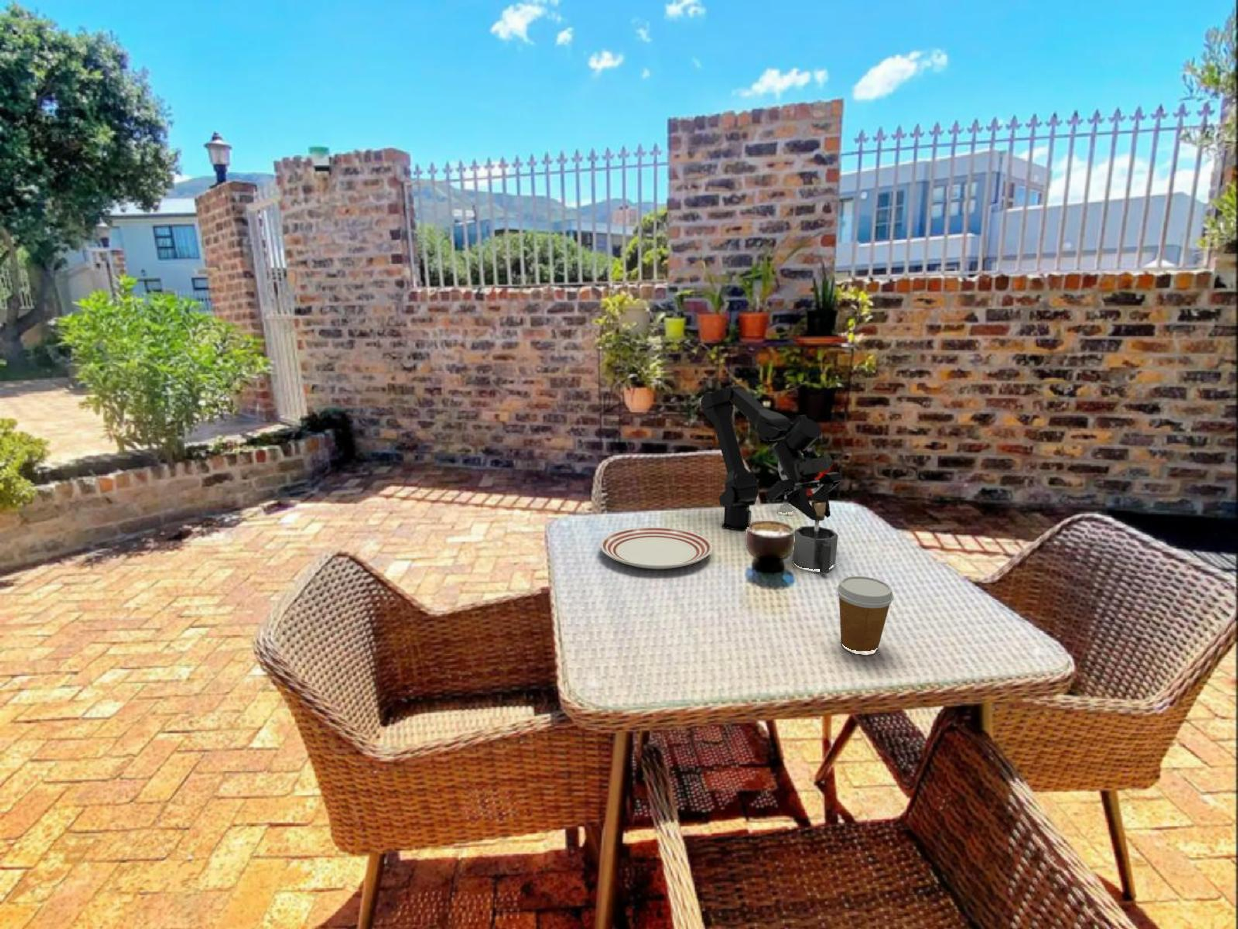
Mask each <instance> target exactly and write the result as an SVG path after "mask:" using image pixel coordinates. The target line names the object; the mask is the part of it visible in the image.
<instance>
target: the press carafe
mask: <svg viewBox="0 0 1238 929" xmlns="http://www.w3.org/2000/svg"><path fill="white" fill-rule="evenodd" d="M793 532H794V533H793V534H794V535H793V537H794V536H795V542H794V541H793V546H794V550H793V549H792V561H794V563H795V564H796V565H797V566H799V567H802V568H809V569H813V570H814V569H820V572H819V573H821V574H829V573H830V571H829V568H830V567H831V566H832V565H834V564H835V565H836V560H837V548H838V540H839V539H838V538H839V535H838V534H837V532H835V531H834V530H833V529H830V528H828V527H827V528H826V527H822V526H819V531H818V539H814V538H813V537H814V525H812V526H811V525H806V526H805V525H804V526H800V527H798V528H797V529H794V531H793ZM792 561H791V562H792ZM794 563H793V564H794Z"/></svg>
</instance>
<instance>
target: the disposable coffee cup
mask: <svg viewBox="0 0 1238 929" xmlns="http://www.w3.org/2000/svg"><path fill="white" fill-rule="evenodd" d="M836 592H837V595H838V600H839V601H838V603H839V606H838V607H839V624H840V631H839V632H840V644H841V643H842V644H843V645H844V646H845V647H847V648H849V649H851V650H856V651H871V650H875V649H876V648H878V649H879V646H880V643H881V640H882V635H883V632H884V628H885V623H886V620H887V617H888V613H889V609H890V606H891V604H892V602H893V601H894V598H895V595H894V594H893V590H892V586H890V585H889V584H888V583H887V582H885V581H883V580H881V579H878V578H874V577H870V576H865V575H852V576H845V577H843V578H842V579H840V582H839V584H838V585H837V586H836Z"/></svg>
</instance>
